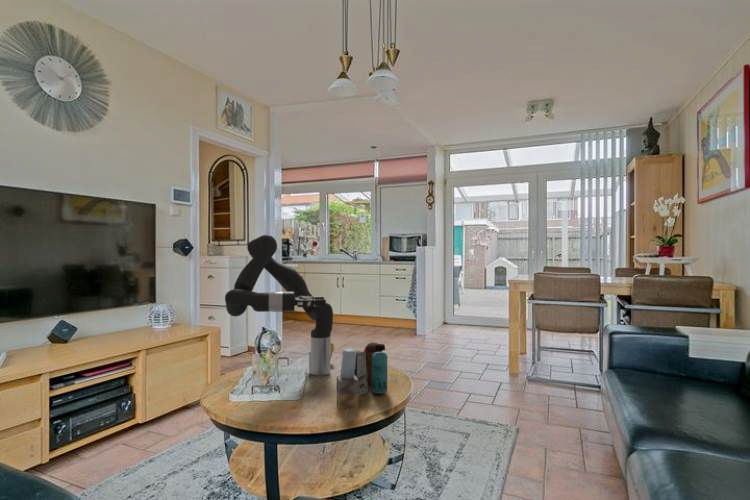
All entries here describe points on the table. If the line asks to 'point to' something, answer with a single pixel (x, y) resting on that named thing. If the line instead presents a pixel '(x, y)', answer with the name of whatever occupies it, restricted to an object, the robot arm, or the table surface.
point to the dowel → (348, 364)
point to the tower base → (347, 400)
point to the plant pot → (331, 350)
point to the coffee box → (361, 371)
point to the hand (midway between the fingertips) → (324, 301)
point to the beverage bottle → (379, 370)
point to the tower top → (347, 386)
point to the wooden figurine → (370, 359)
